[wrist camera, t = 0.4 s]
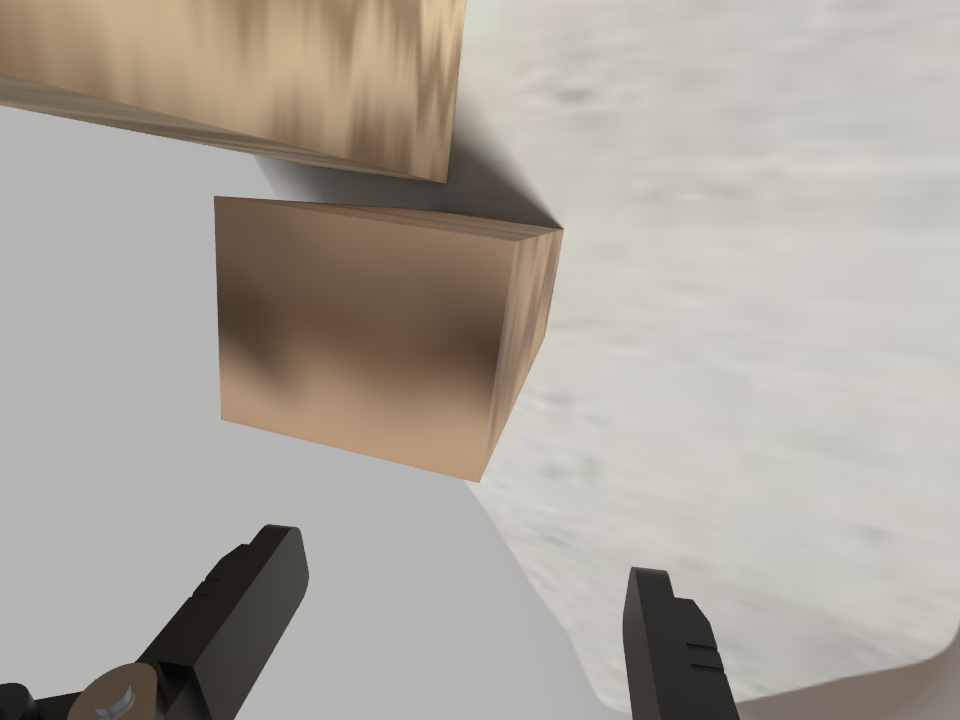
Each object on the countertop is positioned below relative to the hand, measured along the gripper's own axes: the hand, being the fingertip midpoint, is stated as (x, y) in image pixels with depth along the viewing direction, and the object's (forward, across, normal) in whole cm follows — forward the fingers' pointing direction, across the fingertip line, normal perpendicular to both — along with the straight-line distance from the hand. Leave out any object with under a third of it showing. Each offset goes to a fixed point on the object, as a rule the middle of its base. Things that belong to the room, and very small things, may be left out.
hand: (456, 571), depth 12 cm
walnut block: (+27, +3, 0) cm, 28 cm away
